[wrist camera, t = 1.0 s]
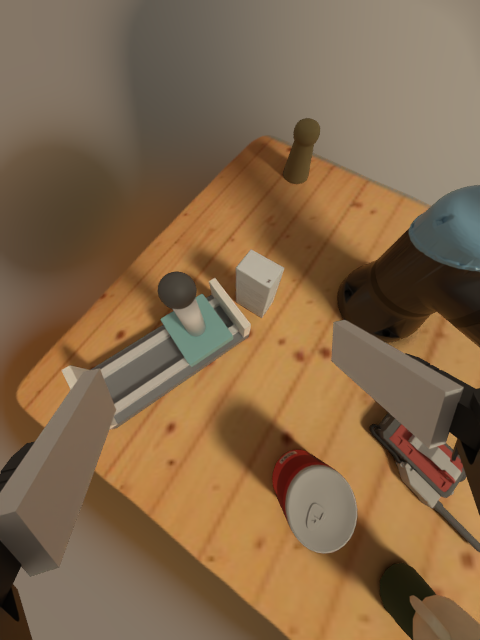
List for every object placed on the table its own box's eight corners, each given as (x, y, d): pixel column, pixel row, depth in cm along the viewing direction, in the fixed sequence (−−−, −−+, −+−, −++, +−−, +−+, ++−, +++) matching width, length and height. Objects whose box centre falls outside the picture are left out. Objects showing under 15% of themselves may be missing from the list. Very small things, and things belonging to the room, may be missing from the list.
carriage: (203, 298, 41) (184, 232, 25) (233, 339, 39) (232, 294, 23) (163, 323, 40) (115, 269, 24) (191, 367, 37) (159, 340, 21)
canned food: (264, 497, 35) (277, 537, 24) (280, 440, 37) (297, 454, 27) (315, 518, 34) (350, 568, 24) (327, 459, 37) (364, 481, 26)
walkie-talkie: (356, 436, 38) (468, 551, 33) (371, 441, 34) (501, 572, 29) (388, 398, 40) (498, 501, 36) (406, 397, 36) (533, 514, 31)
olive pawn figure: (296, 161, 58) (309, 109, 48) (313, 176, 56) (331, 125, 46) (277, 172, 57) (287, 120, 46) (295, 187, 55) (308, 137, 45)
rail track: (217, 295, 45) (215, 277, 39) (248, 336, 43) (250, 324, 36) (90, 375, 40) (61, 370, 33) (116, 428, 37) (90, 433, 31)
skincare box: (273, 301, 45) (286, 267, 34) (261, 318, 44) (270, 289, 33) (247, 285, 46) (250, 247, 35) (234, 302, 45) (234, 268, 34)
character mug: (352, 572, 32) (424, 676, 20) (384, 529, 34) (468, 601, 22) (418, 657, 29) (549, 838, 17) (450, 606, 31) (589, 738, 19)
